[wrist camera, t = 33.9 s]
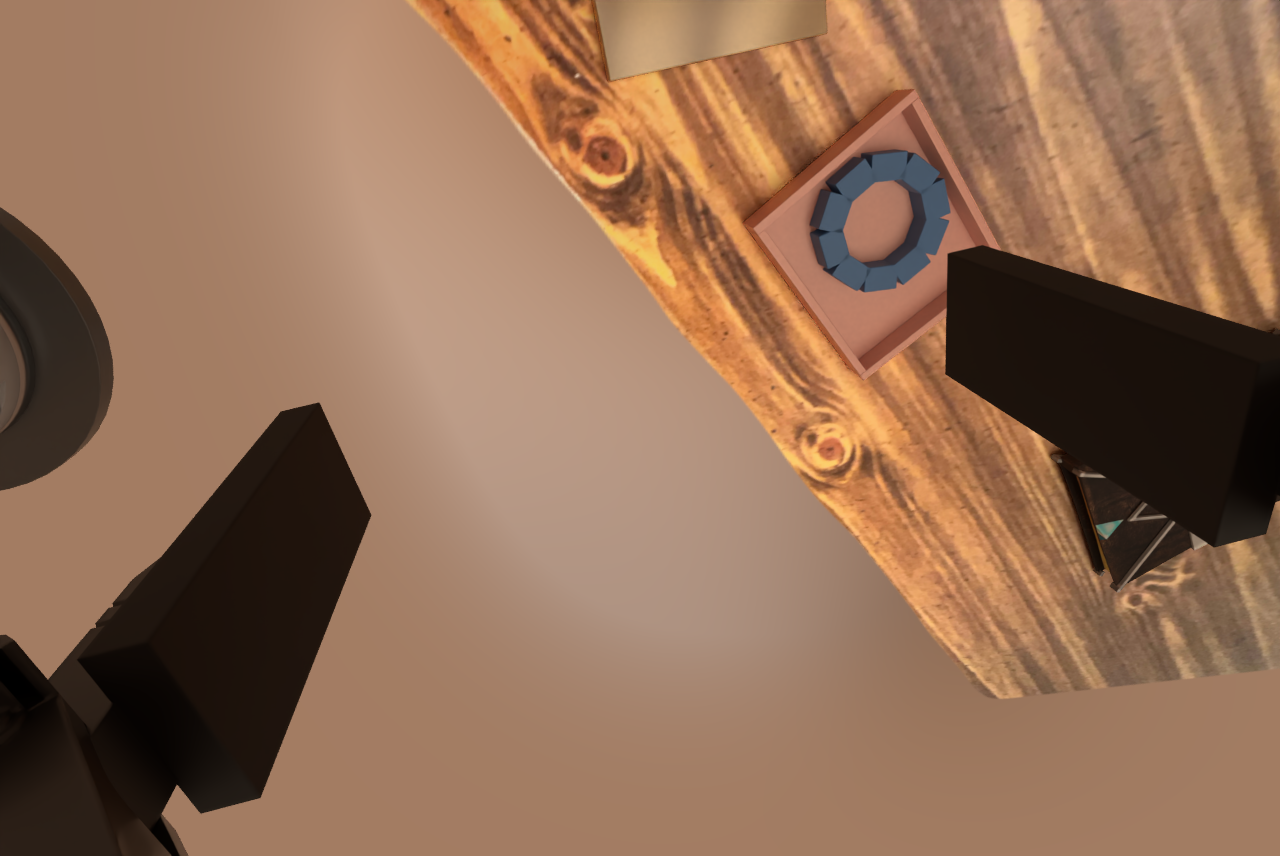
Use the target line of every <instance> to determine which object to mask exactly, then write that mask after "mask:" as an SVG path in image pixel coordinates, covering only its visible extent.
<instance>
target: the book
mask: <svg viewBox="0 0 1280 856" xmlns="http://www.w3.org/2000/svg"><path fill="white" fill-rule="evenodd" d="M1273 334H1275V335H1278V336H1280V330H1278V329H1276V330H1275V331H1274V332H1273ZM1051 459H1053V460H1054V461H1056V462H1057V463H1059V464H1060V467H1061V470H1062V472H1063V475H1064V477H1065V480H1066V483H1067V485H1068V488H1069V491H1070V493H1071V496H1072V499H1073V502H1074V505H1075V508H1076V511H1077V514H1078V517H1079V520H1080V523H1081V526H1082V528H1083V531H1084V534H1085V537H1086V540H1087V543H1088V547H1089V550H1090V553H1091V557H1092V560H1093V563H1094V567H1095V568H1094V569H1093V571H1094V572H1096V573H1097V574H1098V575H1099V576H1103V574H1104V573H1105V572H1104V571H1102V570H1104V569H1106V570H1108V571H1109V572H1110V573H1111V576H1112V578H1113V581H1114V582H1112V583H1111V585H1110V587H1111V588H1113V589H1114V590H1115V591H1116V592H1120V591H1121V590H1122V588H1123V587H1124V586H1125V585H1126V584H1127V583H1129V582H1131V581H1132V580H1134V579H1136V578H1138V577H1139V576H1141V575H1143V574H1145V573H1146V572H1148V571H1150V570H1152V569H1153V568H1155V567H1157V566H1159V565H1160V564H1162V563H1164V562H1166V561H1167V560H1169V559H1171V558H1173V557H1174V556H1176V555H1178V554H1180V553H1182V552H1184V551H1185V550H1187V549H1189V548H1192V549H1193V550H1197V549H1198V548H1200V547H1202V546H1204V545H1206V544H1208V543H1206V542H1205V541H1203V540H1202V539H1200V538H1199V537H1197V536H1195V535H1194V534H1192V533H1191V532H1189V531H1188V530H1186V529H1185V528H1183V527H1182V526H1180V525H1178V524H1177V523H1175V522H1174V521H1172V520H1171V519H1169V518H1168V517H1166V516H1164V515H1163V514H1161V513H1160V512H1158V511H1157V510H1155V509H1154V508H1152V507H1151V506H1149V505H1147V504H1146V503H1144V502H1143V501H1141V500H1140V499H1138V498H1137V497H1135V496H1133V495H1132V494H1130V493H1129V492H1127V491H1126V490H1124V489H1123V488H1121V487H1120V486H1118V485H1116V484H1115V483H1113V482H1112V481H1110V480H1109V479H1107V478H1106V477H1104V476H1102V475H1101V474H1099V473H1098V472H1096V471H1095V470H1093V469H1092V468H1090V467H1089V466H1087V465H1085V464H1084V463H1082V462H1081V461H1079V460H1078V459H1076V458H1075V457H1073V456H1071V455H1070V454H1066V455H1052V456H1051ZM1277 501H1280V496H1279V495H1277V498H1276V501H1275V502H1277Z"/></svg>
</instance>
